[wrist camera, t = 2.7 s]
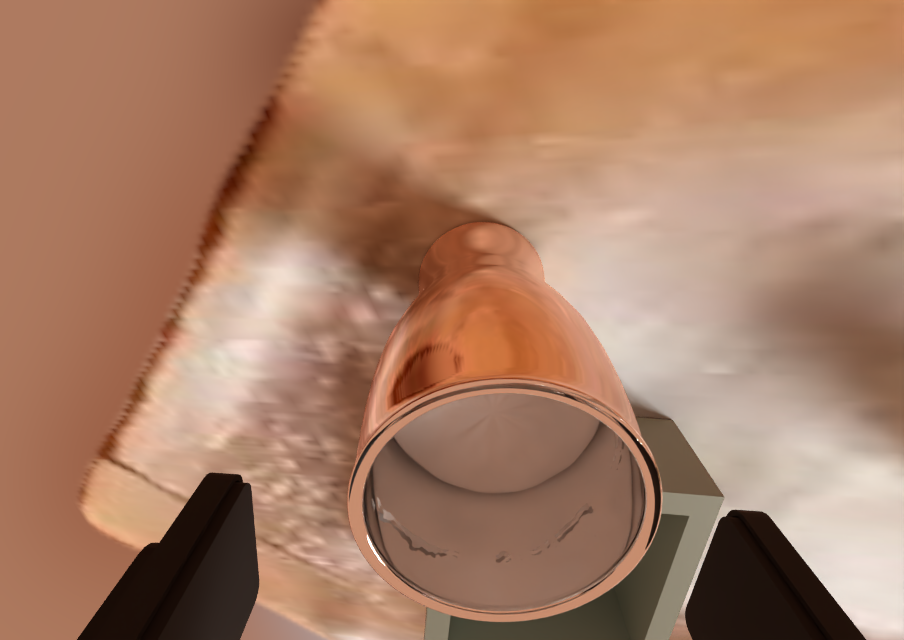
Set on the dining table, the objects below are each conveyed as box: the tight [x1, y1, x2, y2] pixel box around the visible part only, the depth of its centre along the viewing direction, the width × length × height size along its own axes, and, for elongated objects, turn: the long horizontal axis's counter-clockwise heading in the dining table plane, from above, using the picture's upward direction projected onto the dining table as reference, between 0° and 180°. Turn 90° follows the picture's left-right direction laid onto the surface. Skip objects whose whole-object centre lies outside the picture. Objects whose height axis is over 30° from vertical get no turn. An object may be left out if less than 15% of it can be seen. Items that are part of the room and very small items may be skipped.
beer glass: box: [347, 222, 663, 622], centre depth 17 cm, size 7×7×15 cm
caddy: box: [424, 417, 724, 640], centre depth 27 cm, size 12×12×6 cm
